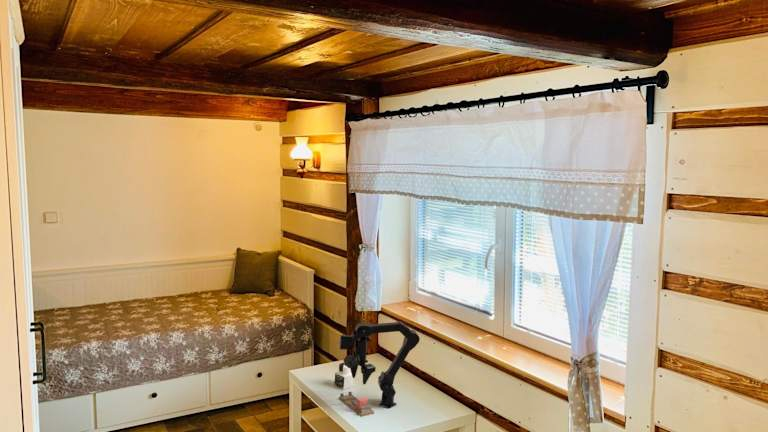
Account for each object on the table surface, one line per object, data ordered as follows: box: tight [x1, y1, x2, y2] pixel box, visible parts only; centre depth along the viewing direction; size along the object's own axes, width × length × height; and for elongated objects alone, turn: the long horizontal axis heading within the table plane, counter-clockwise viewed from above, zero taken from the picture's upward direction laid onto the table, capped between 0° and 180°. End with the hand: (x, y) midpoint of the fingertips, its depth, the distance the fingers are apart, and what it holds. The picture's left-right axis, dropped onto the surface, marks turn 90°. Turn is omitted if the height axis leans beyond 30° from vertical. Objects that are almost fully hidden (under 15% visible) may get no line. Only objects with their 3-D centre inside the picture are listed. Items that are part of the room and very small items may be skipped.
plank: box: [338, 391, 375, 417], centre depth 269 cm, size 22×7×4 cm, turn 33°
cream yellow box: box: [334, 362, 354, 391], centre depth 292 cm, size 7×7×12 cm
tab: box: [351, 397, 369, 410], centre depth 267 cm, size 10×4×4 cm, turn 33°
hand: (358, 380), depth 269 cm, fingers open, 9 cm apart
